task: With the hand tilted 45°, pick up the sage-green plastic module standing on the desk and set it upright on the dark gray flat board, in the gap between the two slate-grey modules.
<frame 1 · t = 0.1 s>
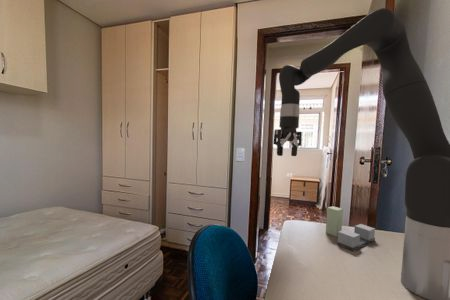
hand: (287, 155, 90), 29 cm above the table, tool pointing down, fingers open, 8 cm apart
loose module: (333, 233, 85), on the table
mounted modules: (356, 234, 78), on the dark gray flat board, point 3 cm above the table
dark gray flat board: (356, 242, 78), on the table
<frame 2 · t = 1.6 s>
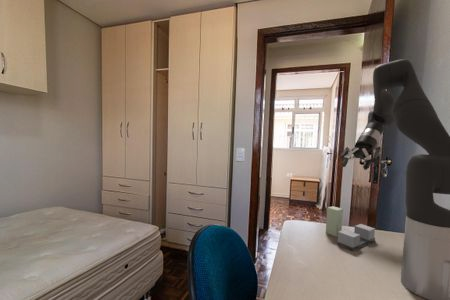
hand: (353, 167, 92), 26 cm above the table, tool tilted 45°, fingers open, 8 cm apart
nothing on the table moved.
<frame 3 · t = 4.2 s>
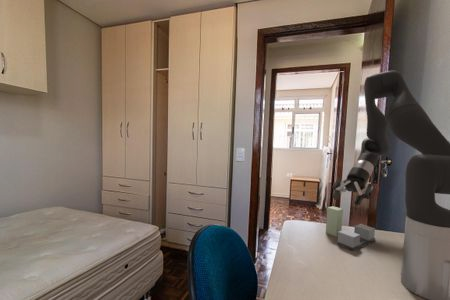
hand: (344, 201, 89), 12 cm above the table, tool tilted 45°, fingers open, 8 cm apart
nothing on the table moved.
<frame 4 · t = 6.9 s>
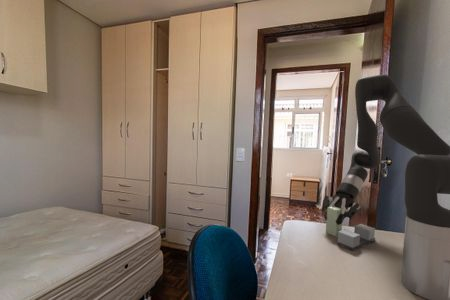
hand: (331, 221, 84), 5 cm above the table, tool tilted 45°, fingers closed on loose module, 4 cm apart
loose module: (333, 233, 85), on the table, touching gripper
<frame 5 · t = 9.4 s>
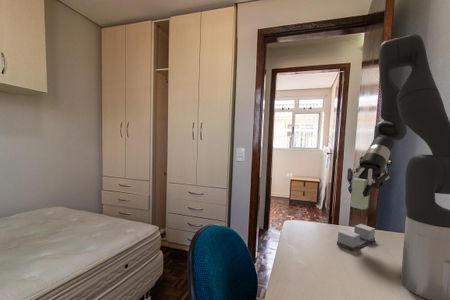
hand: (357, 193, 77), 18 cm above the table, tool tilted 45°, fingers closed on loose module, 4 cm apart
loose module: (358, 207, 78), point 13 cm above the table, touching gripper
when the fingers open (7 cm above the table, at t = 12.1 s): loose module drops 1 cm, resting on dark gray flat board.
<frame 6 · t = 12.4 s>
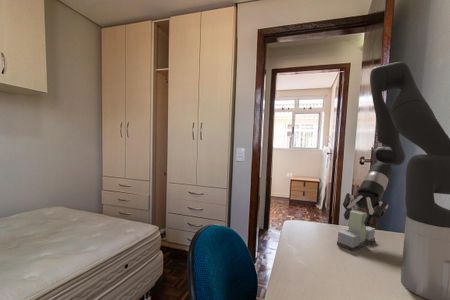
hand: (355, 221, 77), 8 cm above the table, tool tilted 45°, fingers open, 6 cm apart
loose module: (356, 239, 79), point 1 cm above the table, touching dark gray flat board
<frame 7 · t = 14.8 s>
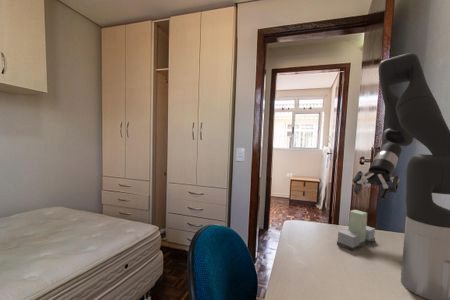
hand: (368, 195, 82), 16 cm above the table, tool tilted 45°, fingers open, 8 cm apart
nothing on the table moved.
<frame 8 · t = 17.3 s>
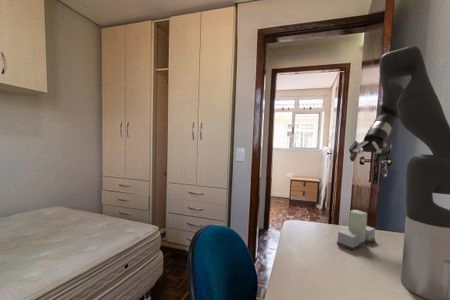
hand: (362, 161, 87), 29 cm above the table, tool tilted 45°, fingers open, 8 cm apart
nothing on the table moved.
at the end: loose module 0.1 cm off-centre on the dark gray flat board, point 1.0 cm above the dark gray flat board's base; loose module tilted 0°; the gripper is holding nothing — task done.
